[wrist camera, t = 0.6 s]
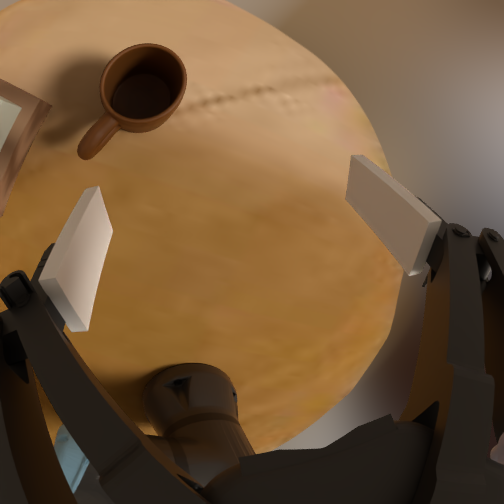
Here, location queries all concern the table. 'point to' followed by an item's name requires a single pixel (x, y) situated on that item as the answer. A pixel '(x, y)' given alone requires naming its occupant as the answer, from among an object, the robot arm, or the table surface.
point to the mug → (136, 94)
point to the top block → (7, 118)
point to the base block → (18, 136)
